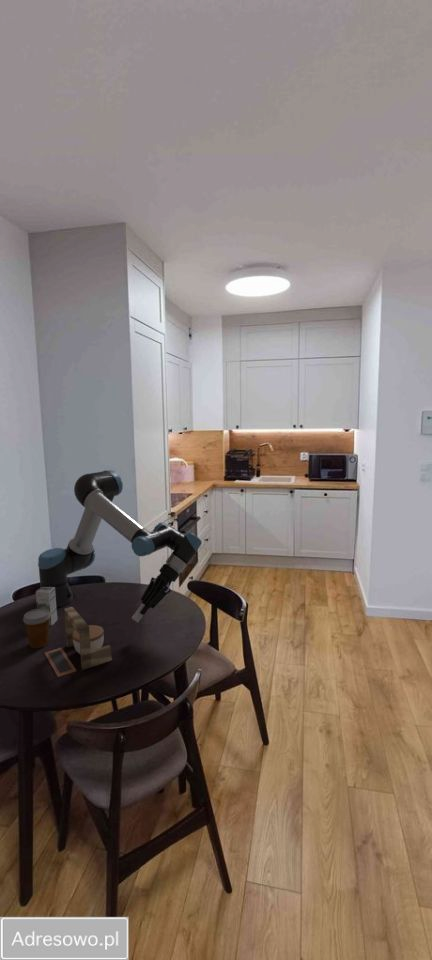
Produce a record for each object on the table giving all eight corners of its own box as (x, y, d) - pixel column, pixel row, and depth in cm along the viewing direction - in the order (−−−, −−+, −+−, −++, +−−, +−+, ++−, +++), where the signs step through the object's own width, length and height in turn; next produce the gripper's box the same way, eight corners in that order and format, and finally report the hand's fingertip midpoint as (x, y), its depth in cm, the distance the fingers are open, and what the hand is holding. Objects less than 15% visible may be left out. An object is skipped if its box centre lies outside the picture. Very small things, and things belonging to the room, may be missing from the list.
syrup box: (58, 619, 187) (55, 586, 185) (51, 626, 181) (48, 592, 179) (44, 619, 187) (42, 586, 185) (37, 626, 182) (35, 591, 179)
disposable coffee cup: (30, 653, 161) (27, 622, 159) (21, 643, 168) (18, 613, 166) (57, 644, 167) (54, 613, 165) (47, 635, 174) (44, 605, 172)
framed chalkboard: (44, 653, 161) (44, 652, 161) (61, 648, 164) (61, 647, 164) (57, 677, 146) (57, 676, 146) (76, 671, 149) (76, 670, 149)
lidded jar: (92, 641, 168) (91, 618, 167) (111, 650, 162) (109, 626, 160) (67, 654, 160) (65, 629, 158) (86, 664, 153) (84, 638, 152)
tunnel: (66, 646, 165) (63, 608, 163) (93, 638, 171) (91, 601, 169) (82, 669, 150) (80, 628, 148) (111, 660, 155) (109, 620, 153)
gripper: (187, 578, 172) (148, 631, 165) (170, 568, 183) (134, 618, 176) (174, 567, 168) (134, 622, 162) (158, 558, 179) (121, 609, 173)
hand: (134, 620), depth 169 cm, fingers closed
